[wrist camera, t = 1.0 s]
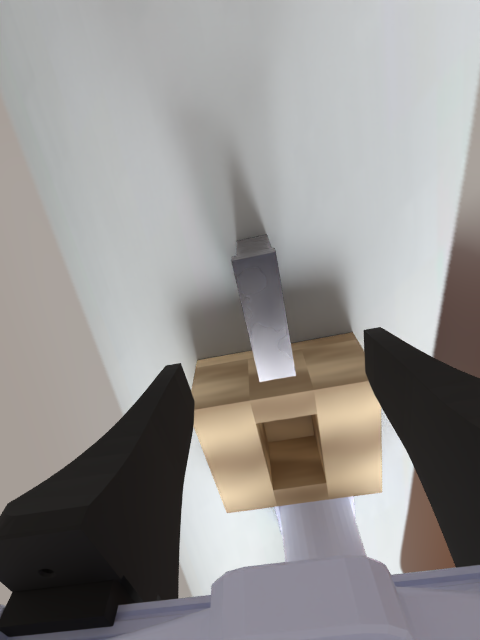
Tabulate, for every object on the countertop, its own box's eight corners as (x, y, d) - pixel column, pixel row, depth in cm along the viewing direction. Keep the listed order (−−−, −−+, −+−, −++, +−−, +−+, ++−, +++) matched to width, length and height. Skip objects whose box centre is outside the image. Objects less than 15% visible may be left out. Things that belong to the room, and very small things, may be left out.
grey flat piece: (281, 315, 24) (295, 375, 18) (254, 320, 24) (259, 381, 18) (264, 218, 21) (275, 251, 15) (233, 225, 21) (231, 260, 15)
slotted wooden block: (358, 435, 30) (382, 492, 25) (228, 454, 31) (227, 513, 26) (352, 332, 25) (380, 378, 20) (197, 360, 26) (187, 410, 21)
